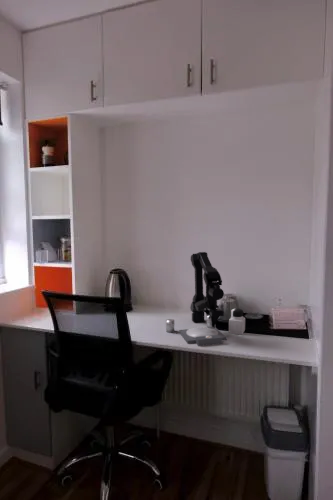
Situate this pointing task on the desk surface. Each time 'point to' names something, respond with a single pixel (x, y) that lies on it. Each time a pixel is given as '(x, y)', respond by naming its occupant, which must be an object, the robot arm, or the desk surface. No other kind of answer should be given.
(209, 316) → the cylinder
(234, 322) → the medicine bottle
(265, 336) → the desk surface
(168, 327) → the cylinder
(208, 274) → the robot arm
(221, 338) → the scale
